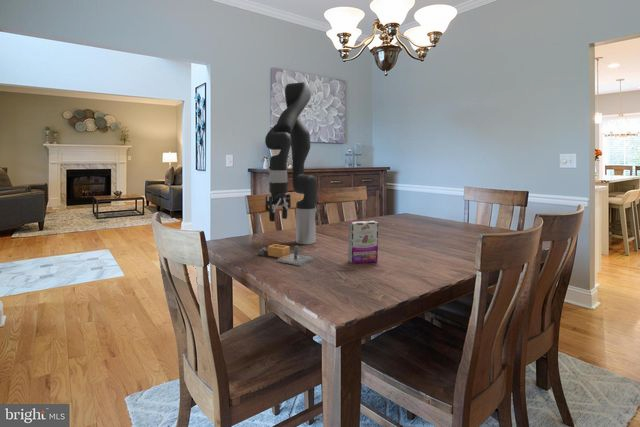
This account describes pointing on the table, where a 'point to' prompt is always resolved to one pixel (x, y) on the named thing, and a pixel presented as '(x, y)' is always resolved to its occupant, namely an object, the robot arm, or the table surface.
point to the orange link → (278, 250)
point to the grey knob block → (263, 252)
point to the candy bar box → (363, 242)
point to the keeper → (296, 258)
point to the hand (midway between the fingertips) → (278, 219)
